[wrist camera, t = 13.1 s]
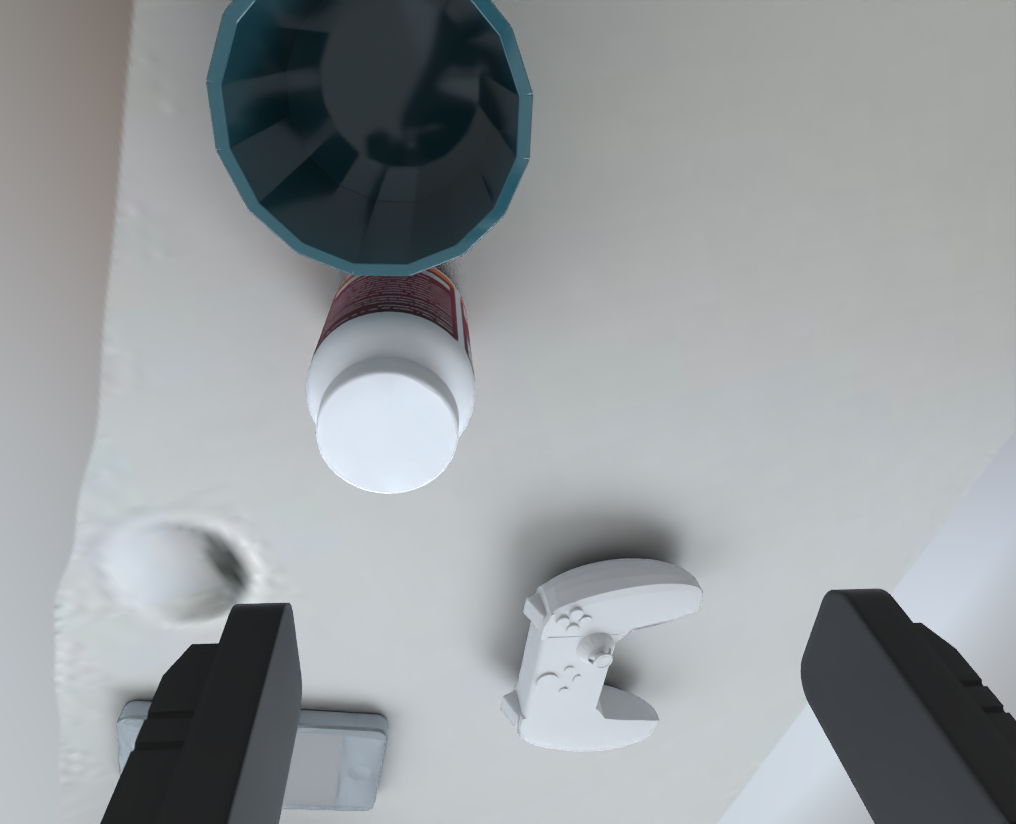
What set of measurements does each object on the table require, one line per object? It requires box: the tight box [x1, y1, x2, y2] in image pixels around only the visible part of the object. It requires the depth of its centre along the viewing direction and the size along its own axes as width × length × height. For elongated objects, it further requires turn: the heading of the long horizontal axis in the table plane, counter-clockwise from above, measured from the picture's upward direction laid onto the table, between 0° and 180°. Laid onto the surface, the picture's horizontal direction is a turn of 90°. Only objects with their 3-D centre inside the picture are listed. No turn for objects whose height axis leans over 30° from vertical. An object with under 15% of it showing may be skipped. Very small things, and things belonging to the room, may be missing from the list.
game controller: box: [501, 558, 703, 751], centre depth 41 cm, size 14×4×10 cm
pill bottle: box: [306, 267, 475, 493], centre depth 28 cm, size 6×6×11 cm
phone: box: [117, 701, 388, 811], centre depth 45 cm, size 8×16×1 cm, turn 78°
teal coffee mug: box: [206, 0, 533, 276], centre depth 23 cm, size 12×9×10 cm
